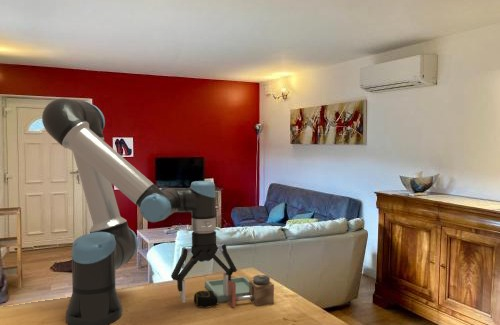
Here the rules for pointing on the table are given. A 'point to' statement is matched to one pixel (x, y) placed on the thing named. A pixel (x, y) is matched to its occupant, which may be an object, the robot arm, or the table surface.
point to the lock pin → (232, 294)
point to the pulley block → (261, 290)
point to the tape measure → (205, 299)
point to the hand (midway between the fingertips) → (205, 298)
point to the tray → (217, 288)
